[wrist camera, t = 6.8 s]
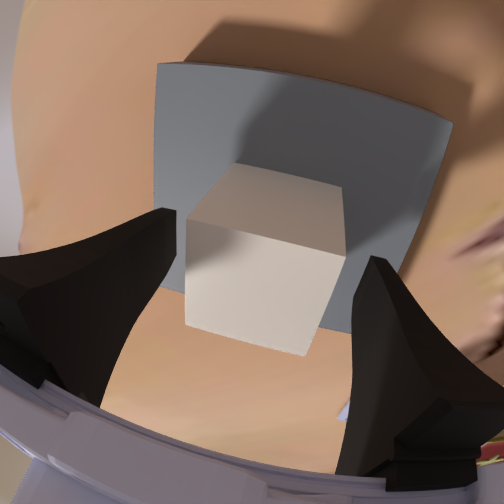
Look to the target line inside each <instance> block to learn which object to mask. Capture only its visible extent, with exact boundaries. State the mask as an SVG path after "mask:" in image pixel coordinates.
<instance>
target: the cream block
mask: <svg viewBox="0 0 504 504" xmlns="http://www.w3.org/2000/svg"><path fill="white" fill-rule="evenodd" d="M345 259H346V244H345V226H344V211H343V198H342V187H339V186H335V185H331V184H327V183H323V182H319V181H315V180H311V179H307V178H303V177H299V176H294V175H290V174H286V173H282V172H277V171H273V170H268V169H263V168H259V167H254V166H249V165H244V164H239V163H233V164H232V165H231V166H230V168H229V169H228V170H227V171H226V172H225V173H224V174H223V176H222V177H221V178H220V179H219V180H218V181H217V182H216V184H215V185H214V186H213V187H212V188H211V190H210V191H209V192H208V193H207V194H206V195H205V197H204V198H203V199H202V200H201V201H200V203H199V204H198V205H197V206H196V207H195V209H194V210H193V211H192V212H191V213H190V215H189V216H188V217H187V218H186V250H185V325H188V326H191V327H194V328H198V329H201V330H204V331H208V332H211V333H215V334H218V335H222V336H225V337H229V338H232V339H236V340H240V341H244V342H247V343H251V344H255V345H259V346H263V347H267V348H271V349H275V350H279V351H283V352H287V353H292V354H296V355H300V356H305V355H306V353H307V351H308V349H309V346H310V344H311V342H312V340H313V337H314V335H315V333H316V330H317V328H318V326H319V323H320V321H321V319H322V316H323V314H324V312H325V309H326V307H327V304H328V302H329V299H330V297H331V295H332V292H333V290H334V287H335V285H336V282H337V279H338V277H339V274H340V272H341V269H342V267H343V264H344V261H345Z"/></svg>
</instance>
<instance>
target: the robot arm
mask: <svg viewBox="0 0 504 504" xmlns="http://www.w3.org/2000/svg"><path fill="white" fill-rule="evenodd" d="M176 218H177V210H173V209H168V208H164V207H161V208H158V209H155V210H153V211H150V212H148V213H145V214H143V215H141V216H139V217H136V218H134V219H132V220H130V221H128V222H125V223H123V224H121V225H119V226H116V227H114V228H112V229H109V230H107V231H104V232H102V233H100V234H97V235H95V236H92V237H89V238H87V239H84V240H81V241H78V242H75V243H72V244H68V245H65V246H61V247H57V248H53V249H49V250H46V251H41V252H36V253H30V254H24V255H18V256H9V257H0V435H2V436H3V437H4V438H5V439H7V440H8V441H9V442H10V443H12V444H13V445H14V446H16V447H17V448H18V449H20V450H21V451H22V452H24V453H25V454H26V455H28V456H29V457H30V458H32V459H33V461H32V463H31V464H30V467H29V468H28V470H27V472H26V474H25V476H24V478H23V480H22V482H21V483H20V486H19V487H18V489H17V492H16V493H15V495H14V497H13V500H12V502H11V504H504V462H499V463H492V464H486V465H482V466H479V467H477V465H476V459H479V458H480V457H481V455H482V454H481V446H482V445H484V444H485V443H487V442H488V441H489V440H491V439H492V438H493V437H495V436H496V435H497V434H499V433H500V432H501V431H502V430H503V429H504V387H502V386H501V385H500V384H498V383H497V382H495V381H494V380H493V379H491V378H490V377H488V376H487V375H486V374H485V373H483V372H482V371H481V370H480V369H479V368H477V367H476V366H475V365H474V364H473V363H471V362H470V361H469V360H468V359H467V358H466V357H465V356H464V355H463V354H462V353H461V352H460V351H459V350H458V349H457V348H456V347H455V346H454V345H453V344H452V343H451V342H450V341H449V340H448V339H447V338H446V337H445V336H444V335H443V334H442V333H441V331H440V330H439V329H438V328H437V327H436V326H435V325H434V323H433V322H432V321H431V320H430V319H429V317H428V316H427V315H426V313H425V312H424V311H423V309H422V308H421V307H420V306H419V304H418V303H417V301H416V300H415V299H414V297H413V296H412V294H411V293H410V292H409V290H408V289H407V287H406V286H405V284H404V283H403V281H402V280H401V279H400V277H399V276H398V274H397V273H396V271H395V270H394V268H393V267H392V266H391V264H390V263H389V262H388V260H387V259H385V258H381V257H377V256H373V255H371V256H370V258H369V261H368V263H367V266H366V268H365V270H364V273H363V275H362V278H361V280H360V282H359V285H358V287H357V289H356V292H355V294H354V296H353V303H352V315H351V334H352V369H353V373H352V388H351V397H350V400H349V402H348V403H347V404H346V406H345V407H344V408H343V409H342V411H341V412H340V413H339V414H338V418H337V419H338V420H339V421H345V422H347V423H346V429H345V434H344V439H343V443H342V448H341V452H340V456H339V460H338V464H337V468H336V472H335V475H334V474H325V473H317V472H309V471H303V470H296V469H290V468H285V467H279V466H274V465H269V464H264V463H259V462H255V461H250V460H246V459H242V458H238V457H234V456H230V455H226V454H222V453H219V452H215V451H212V450H208V449H205V448H201V447H198V446H195V445H192V444H189V443H186V442H182V441H179V440H177V439H174V438H171V437H168V436H165V435H162V434H160V433H157V432H154V431H152V430H149V429H147V428H144V427H142V426H139V425H137V424H134V423H132V422H129V421H127V420H125V419H122V418H120V417H118V416H115V415H113V414H111V413H109V412H107V411H105V410H102V409H100V405H101V402H102V399H103V396H104V393H105V390H106V387H107V384H108V382H109V379H110V376H111V374H112V371H113V369H114V366H115V364H116V361H117V359H118V357H119V355H120V352H121V350H122V348H123V346H124V343H125V341H126V339H127V337H128V335H129V333H130V331H131V329H132V327H133V325H134V324H135V322H136V320H137V319H138V317H139V315H140V314H141V312H142V311H143V309H144V308H145V306H146V305H147V304H148V302H149V301H150V299H151V298H152V296H153V295H154V293H155V292H156V290H157V289H158V287H159V286H160V284H161V283H162V281H163V280H164V278H165V277H166V275H167V273H168V272H169V270H170V268H171V266H172V264H173V262H174V259H175V257H176V255H177V235H176Z"/></svg>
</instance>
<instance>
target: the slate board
mask: <svg viewBox="0 0 504 504" xmlns="http://www.w3.org/2000/svg"><path fill="white" fill-rule="evenodd" d="M453 124H454V123H452V122H450V121H449V120H447V119H445V118H443V117H441V116H440V115H438V114H436V113H434V112H431V111H429V110H426V109H423V108H420V107H418V106H415V105H412V104H409V103H406V102H403V101H400V100H397V99H394V98H391V97H388V96H384V95H381V94H378V93H374V92H371V91H367V90H364V89H360V88H356V87H352V86H349V85H345V84H340V83H336V82H332V81H328V80H323V79H318V78H314V77H309V76H304V75H298V74H293V73H287V72H281V71H275V70H269V69H262V68H254V67H246V66H237V65H227V64H216V63H202V62H169V63H158V65H157V79H156V96H155V119H154V210H155V209H158V208H161V207H164V208H168V209H173V210H177V218H176V235H177V255H176V257H175V259H174V262H173V264H172V266H171V268H170V270H169V272H168V273H167V275H166V277H165V278H164V280H163V281H162V283H161V284H160V287H163V288H167V289H170V290H174V291H177V292H181V293H184V294H185V250H186V218H187V217H188V216H189V215H190V213H191V212H192V211H193V210H194V209H195V207H196V206H197V205H198V204H199V203H200V201H201V200H202V199H203V198H204V197H205V195H206V194H207V193H208V192H209V191H210V190H211V188H212V187H213V186H214V185H215V184H216V182H217V181H218V180H219V179H220V178H221V177H222V176H223V174H224V173H225V172H226V171H227V170H228V169H229V168H230V166H231V165H232V164H233V163H239V164H244V165H249V166H254V167H259V168H263V169H268V170H273V171H277V172H282V173H286V174H290V175H294V176H299V177H303V178H307V179H311V180H315V181H319V182H323V183H327V184H331V185H335V186H339V187H342V198H343V211H344V226H345V244H346V259H345V261H344V264H343V267H342V269H341V272H340V274H339V277H338V279H337V282H336V285H335V287H334V290H333V292H332V295H331V297H330V299H329V302H328V304H327V307H326V309H325V312H324V314H323V316H322V319H321V321H320V323H319V326H318V327H321V328H325V329H330V330H334V331H339V332H344V333H349V334H351V315H352V303H353V296H354V294H355V292H356V289H357V287H358V285H359V282H360V280H361V278H362V275H363V273H364V270H365V268H366V266H367V263H368V261H369V258H370V256H371V255H373V256H377V257H381V258H385V259H387V260H388V262H389V263H390V264H391V266H392V267H393V268H394V270H395V271H396V273H397V272H398V270H399V268H400V266H401V264H402V262H403V259H404V257H405V255H406V253H407V251H408V248H409V246H410V244H411V241H412V239H413V237H414V234H415V232H416V230H417V227H418V225H419V222H420V220H421V218H422V215H423V213H424V210H425V207H426V205H427V202H428V200H429V197H430V194H431V192H432V189H433V186H434V183H435V181H436V178H437V175H438V172H439V169H440V166H441V163H442V160H443V157H444V154H445V151H446V148H447V144H448V141H449V138H450V135H451V131H452V128H453Z"/></svg>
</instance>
